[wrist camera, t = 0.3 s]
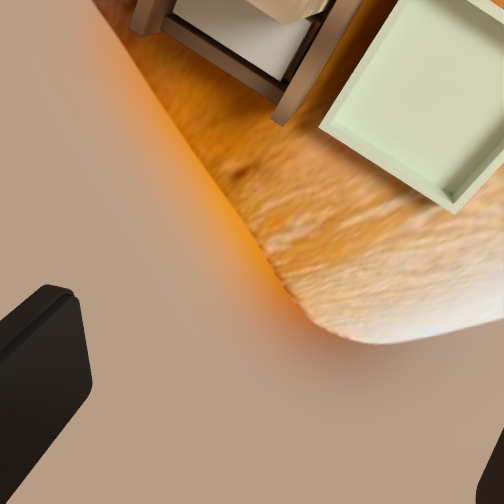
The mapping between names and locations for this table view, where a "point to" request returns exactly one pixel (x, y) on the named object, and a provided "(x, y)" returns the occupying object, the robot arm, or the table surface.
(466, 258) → the table surface
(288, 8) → the block
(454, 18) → the tray
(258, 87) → the rack
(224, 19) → the offcut top
